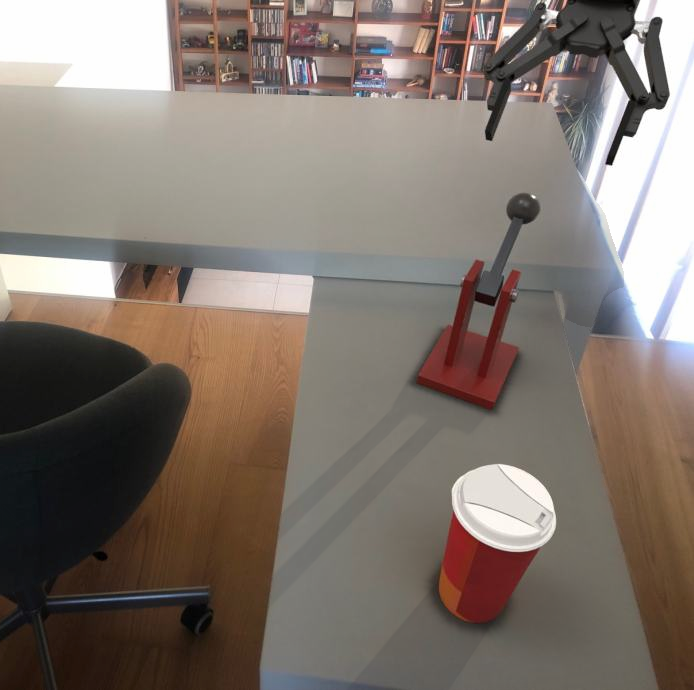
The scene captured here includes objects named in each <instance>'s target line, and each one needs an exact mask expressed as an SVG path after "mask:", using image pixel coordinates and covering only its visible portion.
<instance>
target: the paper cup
mask: <svg viewBox="0 0 694 690" xmlns="http://www.w3.org/2000/svg"><path fill="white" fill-rule="evenodd" d="M451 504H452V509H453V510H452V515H451V520H450V526H449V529H448V535H447V539H446V544H445V548H444V554H443V559H442V564H441V570H440V574H439V581H438V592H439V596H440V599H441V601H442V603H443V605H444V606H445V608H446V609H447V610H448V612H450V613H451V614H453V616H455V617H457V618H458V619H460V620H462V621H465V622H467V623H473V624H484V623H487V622H490V621H493V620H494V619H495V618H496V617H497V616H498V615H500V613H501V612H502V610H503V609H504V608H505V606H506V605H507V603H508V601H509V599H510V598H511V596H512V595H513V593H514V592H515V590H516V588H517V586H518V585H519V584H520V582H521V580H522V579H523V577H524V575H525V573H526V571H527V570H528V568H529V567H530V565H531V563H532V562H533V560H534V558H535V557H536V555H537V554H538V552H539V551H540V549H541V547H543V546H544V545H545V544H547V543H548V542H549V541H550V540H551V538H552V537H553V535H554V533H555V531H556V527H557V517H556V511H555V506H554V502H553V500H552V497H551V495H550V493H549V491H548V489H547V488H546V487H545V486H544V485H543V483H542V482H541V481H539V480H538V478H536V477H534V476H533V475H532V474H530V473H529V472H527V471H525V470H523V469H521V468H518V467H516V466H513V465H508V464H503V463H494V464H487V465H482V466H480V467H477V468H474V469H471V470H469V471H467V472H466V473H464V474H463V475H461V476H460V477H458V479H457V480H456V481H455V483H454V484H453V486H452V488H451Z"/></svg>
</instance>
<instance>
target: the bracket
mask: <svg viewBox="0 0 694 690" xmlns="http://www.w3.org/2000/svg"><path fill="white" fill-rule="evenodd" d="M484 266H485V261H483V260H479V259H475V260H474V262H473V263H472V265H471V266H470V269H469V270H468V272H467V273H466V274H463V276H462V278H461V282H460V284H459V285H460V288H461V289H460V294H459V298H458V302H457V307H456V311H455V315H454V318H453V323H452V324H447V325H446V326H445V329H444V330H443V332H442V334H441V335H440V336H439V339H438V340H437V342H436V344H435V345H434V347H433V349H432V351H431V352H430V354H429V355H428V358H427V359H426V360H425V362H424V364H423V365H422V367H421V369H420V371H419V373H418V374H417V376H416V377H417V378H416V384H418V385H421V386H425V387H427V388H430V389H433V390H434V391H435V390H436V391H438V392H442V393H443V394H446V395H450V396H451V397H455V398H458V399H461V400H463V401H466V402H469V403H471V404H475V405H477V406H479V407H482V408H485V409H488V410H491V411H492V410H493V409H494V407H495V405H496V403H497V400H498V398H499V395H500V394H501V391H502V389H503V387H504V384H505V382H506V380H507V378H508V375H509V373H510V371H511V369H512V367H513V364H514V362H515V359H516V358H517V356H518V353H519V350H520V347H519V346H517V345H513V344H511V343H507V342H504V341H502V338H503V334H504V331H505V327H506V324H507V321H508V319H509V314H510V311H511V307H512V305H513V304H514V303H516V301H517V299H518V296H519V293H520V290H518V289H517V288H518V284H519V281H520V279H521V274H522V271H519V270H517V269H511V270H510V273H509V274H508V276H507V278H506V279H505V282H504V283H503V287H502V289H501V292H500V294H499V296H498V299H497V302H496V307H495V310H494V313H493V317H492V321H491V325H490V328H489V332H488V334H487V336H486V335H482V334H479V333H477V332H473V331H470V330H468V328H469V324H470V321H471V316H472V313H473V309H474V305H475V302H476V301H475V291H476V288H477V286H478V284H479V281H480V279H481V277H482V275H483V271H484Z"/></svg>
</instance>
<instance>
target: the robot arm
mask: <svg viewBox="0 0 694 690" xmlns="http://www.w3.org/2000/svg"><path fill="white" fill-rule="evenodd" d="M640 2H641V0H567V1H566V3H565V4H564V6H563V7H562V8H561V9H560V10H556V9H555V10H554V9H551V8H547V4H546V3H545V2H538V3H537V4H535V7H534V8H533V10H532V13H531V14H530V17H529V18H528V19H527V20H526V21H525V22H524V23H523V24H522V25H521V27H519V28H518V29H517V31H515V32H514V33H513V35H512V36H511V37H509V38H508V40H507V41H505V42H504V43H503V44H502V46H501V47H500V48H498V50H496V51H495V52H494V54H492V55H491V56H490V58H489V59H487V60H486V61H485V62H484V64H483V67H482V68H483V77H484V80H485V81H490V82H492V83H493V84H492V86H491V89H490V91H489V94H488V97H487V99H486V106H487V107H486V108H487V111H490V112H491V113H490V116H489V118H488V121H487V124H486V126H485V128H484V137H485V141H490V142H493V140H494V137H495V136H496V133H497V129H498V127H499V124H500V121H501V119H502V116H503V114H504V111H505V108H506V106H507V103H508V100H509V97H510V95H511V93H512V83H514V82H515V81H516V80H519V79H520V78H521V77H523V76H524V75H526V74H528V73H530V72H531V71H532V70H534V69H535V68H536V67H538V66H540V65H542V64H543V63H544V62H546V61H548V60H549V59H550V58H552V57H557V56H558V55H560V54H561V53H563V52H564V51H567V52H569V55H572V56H573V55H574V56H580V55H584V56H587V57H589V58H594V59H598V57H601V56H605V58H606V60H607V62H608V64H609V65H610V66H611V67H612V69H613V71H614V72H615V74H616V77H617V78H618V81H619V82H620V84H621V86H622V88H623V90H624V92H625V94H626V96H627V99H628V100H627V103H626V106H625V108H624V111H623V114H622V117H621V119H620V122H619V124H618V126H617V128H616V129H617V130H616V132H615V135H614V138H613V140H612V142H611V145H610V147H609V150H608V153H607V155H606V159H605V163H604V164H605V165H606V166H611V167H613V165H614V162H615V160H616V156H617V154H618V151H619V149H620V146H621V143H622V141H623V138H624V137H627V138H634V137H635V136H636V135H637V132H638V130H639V127H640V125H641V122H642V119H643V116H644V115H645V113H646V112H647V111H649V110H653V109H655V110H657V111H661V110H663V109H664V108H665V107H666V105H667V103H668V101H669V98H670V96H671V92H670V86H669V82H668V81H669V80H668V77H667V76H668V75H667V71H666V66H665V61H664V56H663V55H664V54H663V48H662V45H661V40H660V34H661V29H662V26H663V18H662V17H660V16H655V17H652V18H651V19H650V21H643V20H642V21H641V20H640V21H638V20H636V18H635V15H636V13H637V10H638V8H639V5H640ZM551 24H555V27H556V30H554V31H552V32H551V33H550V34H549V35H548V36H547V37H546V38H545V39H544V40H542V41H541V42H539V43H537V44H536V45H535V46H533V47H532V48H530V49H529V50H527V51H525V52H524V53H522V54H521V55H519V54H520V53H521V51H523V50H524V49H525V48H526V47H527V46H528V45H529V44H530V43H531V42H532V41H533V40H534V39H535V37H536V36H537V35H538V34H539V33H540V31H545V29H546V28H548V26H550V25H551ZM632 35H635V36H636V37H637V41H638V42H639V43H640V44H641V45H643V57H644V62H645V68H646V73H647V78H648V84H649V89H650V91H648V90H647V88H646V86H645V83H644V82H643V80H642V78H641V76H640V74H639V72H638V70H637V69H636V67H635V64H634V63H633V61H632V59H631V57H630V55H629V53H628V51H627V49H626V45H625V41H626V40H627V39H629V38H630V37H631V36H632ZM517 55H519V56H518V57H517ZM516 57H517V58H516Z"/></svg>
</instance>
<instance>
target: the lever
mask: <svg viewBox="0 0 694 690" xmlns="http://www.w3.org/2000/svg"><path fill="white" fill-rule="evenodd" d="M505 212H506V215H507V217H508V219H509V220H510V221H511V222H510V224H509V226H508V229H507V231H506V234H505V236H504V238H503V241H502V243H501V246H500V247H499V251H498V253H497V255H496V257H495V259H494V262H493V264H492V267H491V269H490V271H488V270H483V271H482V274H481V278H480V281H479V284H478V286H477V288H476V291H475V301H474V302H477V303H479V304H483V305H486V306H490V307H493V308H494V307H495V306H496V305H497V302H498V300H499V296H500V293H501V289H502V288H503V286H504V280H505V275H504V274H503V273H504V270H505V267H506V264H507V262H508V260H509V258H510V254H511V253H512V250H513V248H514V245H515V243H516V241H517V239H518V236H519V233H520V231H521V229H522V227H523V226H524V225H528V224H531V223H532V222H534V221H535V220H536V219H537V218H538V217H539V215H540V212H541V203H540V200H539V198H538V197H537V196H536V195H535V194H532V193H530V192H519V193H516V194H514V195H513V196H512V197H511V198H510V199H509V200H508V201H507V203H506V210H505Z"/></svg>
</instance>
